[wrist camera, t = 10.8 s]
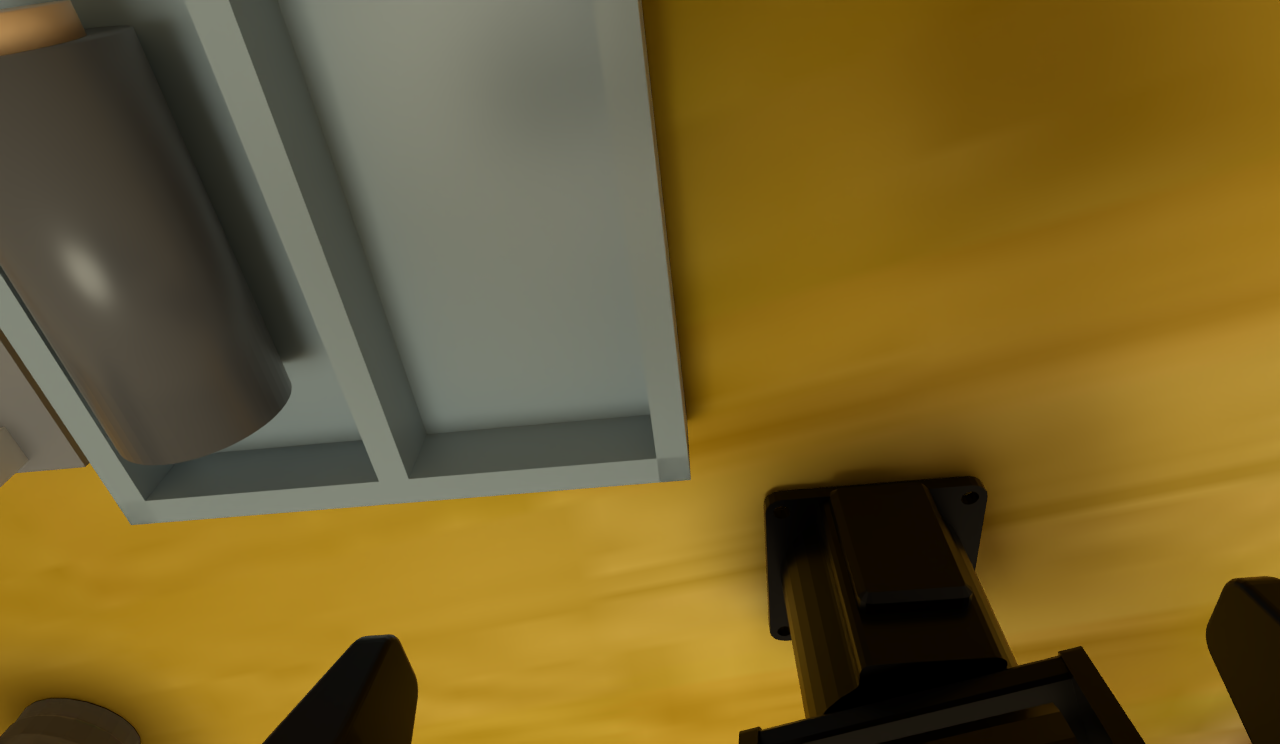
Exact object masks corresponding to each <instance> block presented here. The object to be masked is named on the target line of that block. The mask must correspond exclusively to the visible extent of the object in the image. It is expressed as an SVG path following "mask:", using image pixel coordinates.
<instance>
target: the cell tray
mask: <svg viewBox="0 0 1280 744" xmlns="http://www.w3.org/2000/svg"><path fill="white" fill-rule="evenodd" d="M54 1H63V0H0V9H5V8H12V7H18V6H25V5H31V4H38V3H46V2H54ZM70 1H71V3H72V5H73V7H74V9H75V11H76V13H77V15H78V17H79V19H80V21H81V24H82V26H83V28H84V29H89V28H97V27H106V26H118V25H130V26H133V28H134V30H135V33H136V35H137V37H138V39H139V42H140V44H141V46H142V48H143V51H144V53H145V55H146V57H147V60H148V62H149V64H150V66H151V69H152V71H153V73H154V75H155V78H156V80H157V82H158V84H159V87H160V89H161V91H162V93H163V96H164V98H165V100H166V102H167V105H168V107H169V109H170V111H171V114H172V116H173V118H174V120H175V123H176V125H177V127H178V129H179V132H180V134H181V136H182V138H183V141H184V143H185V145H186V147H187V150H188V152H189V154H190V156H191V159H192V161H193V163H194V165H195V167H196V170H197V172H198V174H199V176H200V179H201V181H202V183H203V185H204V188H205V190H206V192H207V194H208V197H209V199H210V201H211V203H212V206H213V208H214V210H215V212H216V215H217V217H218V219H219V221H220V224H221V226H222V228H223V230H224V233H225V235H226V237H227V239H228V242H229V244H230V246H231V248H232V251H233V253H234V255H235V257H236V260H237V262H238V264H239V266H240V269H241V271H242V273H243V275H244V278H245V280H246V282H247V284H248V287H249V289H250V291H251V293H252V296H253V298H254V300H255V302H256V305H257V307H258V309H259V311H260V314H261V316H262V318H263V320H264V323H265V325H266V327H267V329H268V332H269V334H270V336H271V338H272V341H273V343H274V345H275V347H276V350H277V352H278V354H279V356H280V359H281V361H282V363H283V365H284V368H285V370H286V372H287V374H288V377H289V379H290V381H291V385H292V391H291V395H290V398H289V399H288V401H287V403H286V405H285V406H284V407H283V409H282V410H281V411H280V412H279V413H278V414H277V415H276V416H275V417H274V418H273V419H272V420H271V421H270V422H268V423H267V424H266V425H265V426H263V427H262V428H260V429H259V430H258V431H256V432H254V433H253V434H251V435H250V436H248V437H246V438H245V439H243V440H241V441H239V442H237V443H235V444H233V445H231V446H229V447H227V448H225V449H222V450H220V451H217V452H215V453H212V454H209V455H206V456H203V457H200V458H197V459H193V460H189V461H185V462H180V463H175V464H168V465H141V464H136V463H133V462H130V461H128V460H126V459H124V458H123V457H122V456H121V455H120V454H119V452H118V451H117V449H116V448H115V446H114V444H113V443H112V441H111V440H110V438H109V436H108V435H107V433H106V432H105V430H104V429H103V427H102V425H101V424H100V422H99V421H98V419H97V417H96V416H95V414H94V413H93V411H92V410H91V408H90V406H89V405H88V403H87V402H86V400H85V398H84V397H83V395H82V394H81V392H80V391H79V389H78V387H77V386H76V384H75V383H74V381H73V379H72V378H71V376H70V375H69V373H68V372H67V370H66V368H65V367H64V365H63V364H62V362H61V360H60V359H59V357H58V356H57V354H56V353H55V351H54V349H53V348H52V346H51V345H50V343H49V341H48V340H47V338H46V337H45V335H44V334H43V332H42V330H41V329H40V327H39V326H38V324H37V322H36V321H35V319H34V318H33V316H32V315H31V313H30V311H29V310H28V308H27V307H26V305H25V303H24V302H23V300H22V299H21V297H20V296H19V294H18V292H17V291H16V289H15V288H14V286H13V284H12V283H11V281H10V280H9V278H8V277H7V275H6V273H5V272H4V270H3V269H2V267H1V265H0V328H1V330H2V331H3V333H4V334H5V336H6V337H7V339H8V340H9V342H10V343H11V345H12V346H13V348H14V349H15V351H16V352H17V354H18V355H19V357H20V358H21V360H22V361H23V363H24V364H25V366H26V367H27V369H28V370H29V372H30V373H31V375H32V376H33V378H34V379H35V381H36V382H37V384H38V385H39V387H40V388H41V390H42V391H43V393H44V394H45V396H46V397H47V399H48V400H49V402H50V403H51V405H52V406H53V408H54V409H55V411H56V412H57V414H58V416H59V417H60V419H61V420H62V422H63V423H64V425H65V426H66V428H67V429H68V431H69V432H70V434H71V435H72V437H73V438H74V440H75V441H76V443H77V444H78V446H79V447H80V449H81V450H82V452H83V453H84V455H85V456H86V458H87V459H88V461H89V462H90V464H91V465H92V467H93V468H94V470H95V471H96V473H97V474H98V476H99V477H100V479H101V480H102V482H103V483H104V485H105V486H106V488H107V489H108V491H109V492H110V494H111V495H112V497H113V498H114V500H115V501H116V503H117V504H118V506H119V507H120V509H121V510H122V512H123V513H124V515H125V516H126V518H127V519H128V521H129V522H130V524H131V525H136V524H149V523H161V522H173V521H186V520H198V519H210V518H223V517H235V516H248V515H260V514H272V513H285V512H297V511H310V510H322V509H334V508H347V507H359V506H372V505H384V504H396V503H409V502H421V501H434V500H446V499H458V498H471V497H483V496H496V495H508V494H520V493H533V492H545V491H557V490H570V489H582V488H595V487H607V486H619V485H632V484H644V483H657V482H669V481H681V480H691V477H690V461H689V444H688V427H687V416H686V406H685V397H684V388H683V379H682V369H681V360H680V351H679V342H678V332H677V323H676V314H675V305H674V295H673V286H672V277H671V268H670V258H669V249H668V240H667V231H666V221H665V212H664V203H663V194H662V184H661V175H660V166H659V157H658V147H657V138H656V129H655V120H654V110H653V101H652V92H651V83H650V73H649V64H648V55H647V46H646V36H645V27H644V18H643V9H642V0H70Z"/></svg>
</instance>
